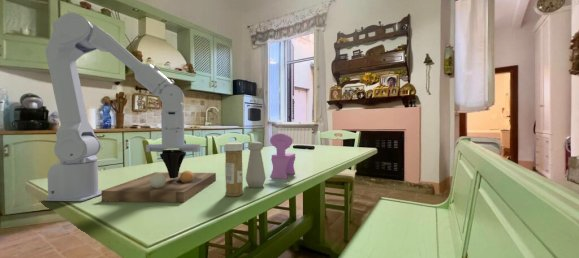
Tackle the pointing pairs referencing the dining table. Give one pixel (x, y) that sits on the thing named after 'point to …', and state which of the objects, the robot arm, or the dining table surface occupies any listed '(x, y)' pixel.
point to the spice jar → (233, 169)
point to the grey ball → (157, 180)
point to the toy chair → (282, 156)
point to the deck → (158, 189)
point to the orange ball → (186, 176)
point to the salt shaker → (255, 166)
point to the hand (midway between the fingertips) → (173, 177)
